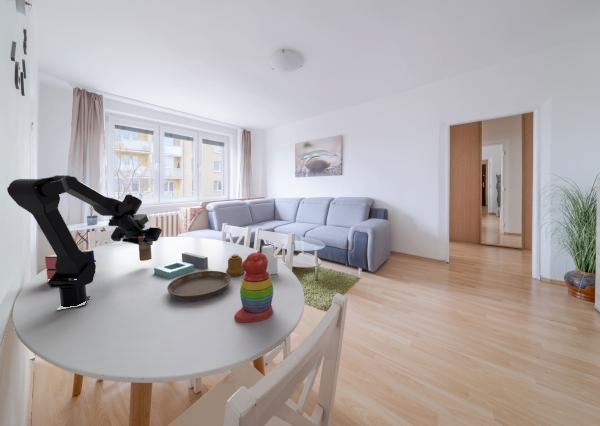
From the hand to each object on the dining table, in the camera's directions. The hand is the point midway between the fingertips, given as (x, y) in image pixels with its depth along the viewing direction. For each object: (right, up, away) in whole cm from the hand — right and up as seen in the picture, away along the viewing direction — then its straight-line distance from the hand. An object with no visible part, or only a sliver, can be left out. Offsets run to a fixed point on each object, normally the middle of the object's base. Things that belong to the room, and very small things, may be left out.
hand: (146, 244), depth 104 cm
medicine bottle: (+56, -12, -6) cm, 57 cm away
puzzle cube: (-22, -12, -12) cm, 28 cm away
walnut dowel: (0, -7, -1) cm, 7 cm away
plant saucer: (+35, -14, -22) cm, 43 cm away
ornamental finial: (+42, -12, -7) cm, 45 cm away
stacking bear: (+57, -15, -38) cm, 70 cm away
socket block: (+16, -11, -6) cm, 20 cm away
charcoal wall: (+21, -10, +2) cm, 23 cm away
